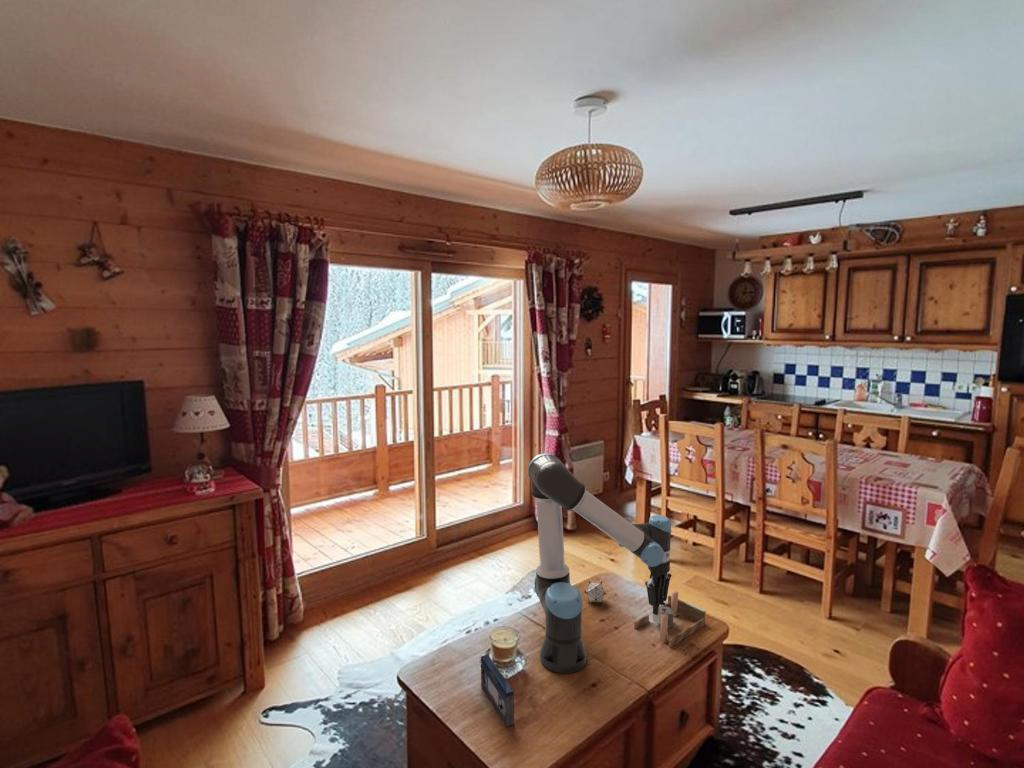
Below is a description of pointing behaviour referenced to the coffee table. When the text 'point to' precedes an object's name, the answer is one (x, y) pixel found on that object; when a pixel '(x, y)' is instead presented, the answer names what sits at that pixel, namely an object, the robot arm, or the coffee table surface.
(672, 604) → the pin far
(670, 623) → the dice cube
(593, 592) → the game die
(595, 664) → the coffee table surface
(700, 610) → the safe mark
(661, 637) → the pin near
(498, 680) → the vhs cassette tape
